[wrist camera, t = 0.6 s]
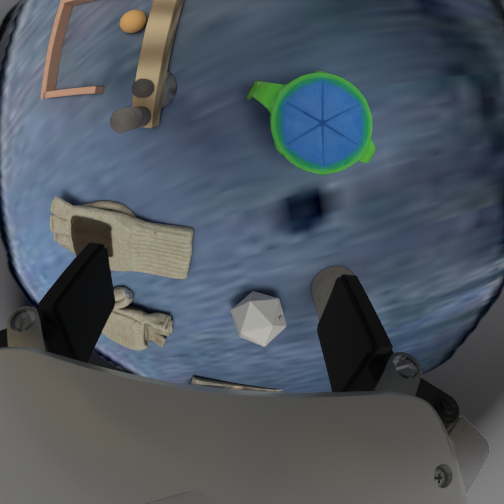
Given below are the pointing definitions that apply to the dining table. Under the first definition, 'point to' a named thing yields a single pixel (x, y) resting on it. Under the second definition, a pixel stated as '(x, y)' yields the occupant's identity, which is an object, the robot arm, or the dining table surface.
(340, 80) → the snack cup
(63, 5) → the open frame
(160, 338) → the pair of gloves
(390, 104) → the dining table surface
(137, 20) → the ball
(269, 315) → the die
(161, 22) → the lever
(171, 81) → the pivot base
